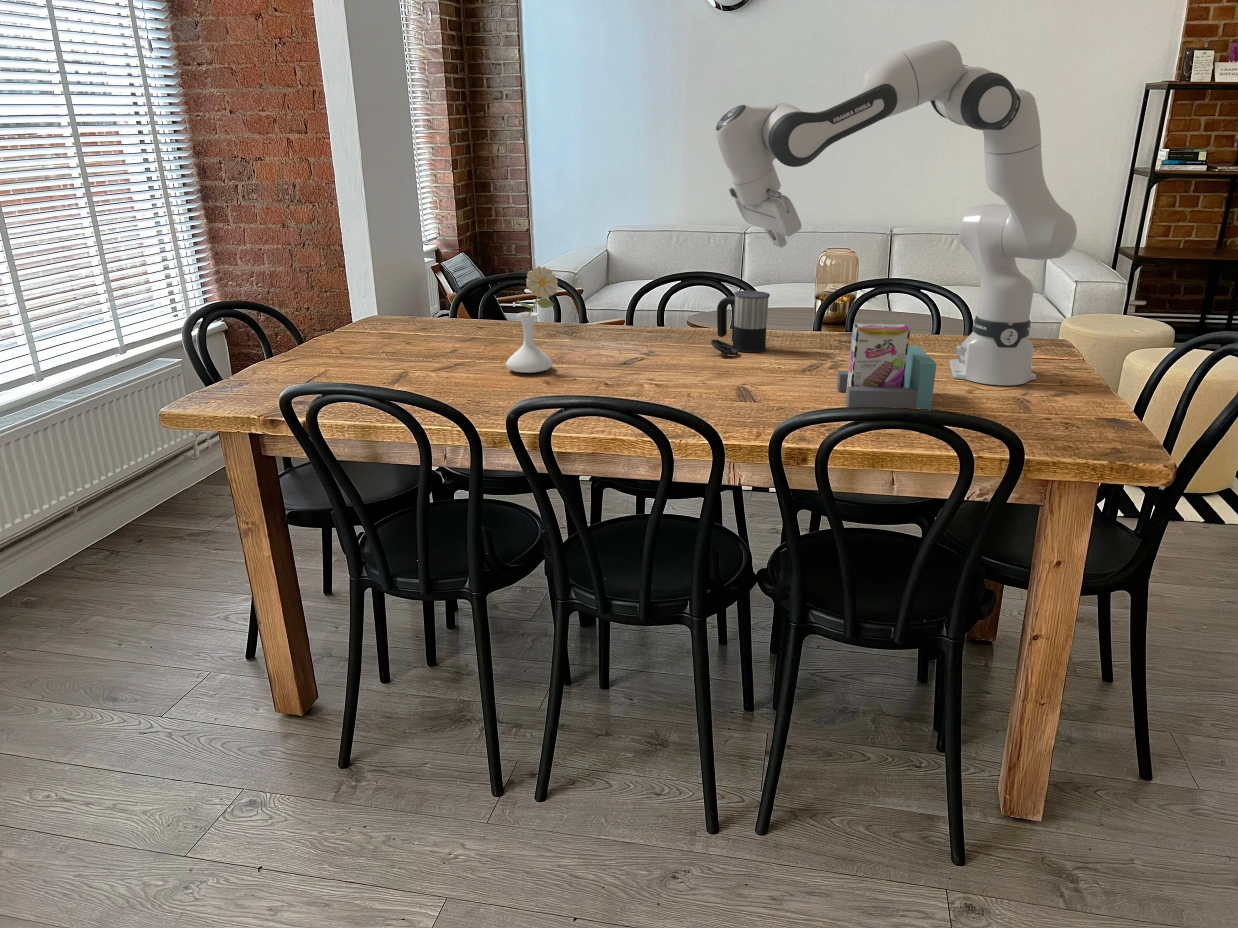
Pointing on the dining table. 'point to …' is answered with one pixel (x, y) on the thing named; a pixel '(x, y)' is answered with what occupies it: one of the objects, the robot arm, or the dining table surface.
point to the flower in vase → (529, 354)
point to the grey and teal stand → (910, 396)
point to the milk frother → (743, 322)
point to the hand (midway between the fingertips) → (780, 245)
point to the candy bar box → (878, 355)
